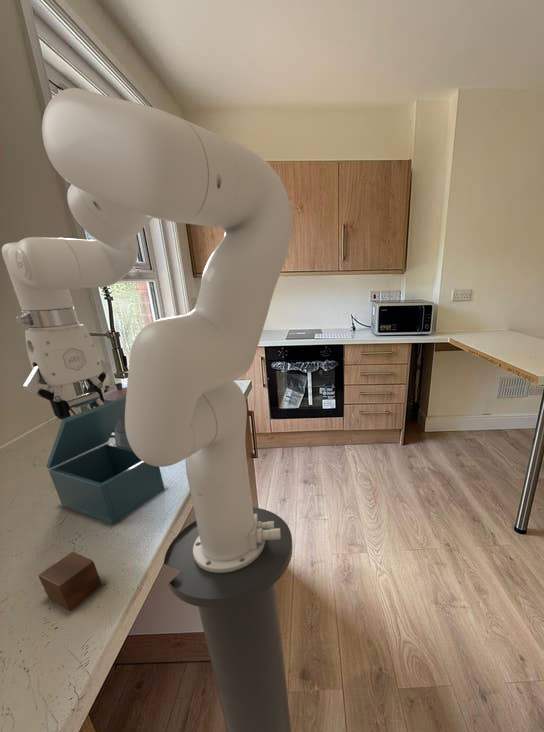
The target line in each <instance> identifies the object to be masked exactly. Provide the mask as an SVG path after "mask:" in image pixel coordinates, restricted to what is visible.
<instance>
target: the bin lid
mask: <svg viewBox="0 0 544 732" xmlns="http://www.w3.org/2000/svg"><path fill="white" fill-rule="evenodd" d="M64 400H65V401H66V403H67V406H68V409H69V411H70V412H71V413H72V414H73V415H71V416H70V417H67V418H64V419H61V422H60V426H59V427H58V431H57V433H56V436H55V440H54V443H53V446H52V449H51V451H50V453H49V456H48V460H47V463H46V465H45V467H46V468H47V469H48V470H49V469H51V468H53V467H55V466H58V465H60V464H62V463H64V462H66V461H68V460H71V459H73V458H75V457H77V456H79V455H81V454H84V453H86V452H88V451H90V450H92V449H95V448H97V447H99V446H101V445H103V444H105V443H109V441H110V438H111V436H112V434H113V433H114V431H115V430H114V428H115V426H116V424H117V422H118V420H119V418H120V416H121V414H122V412H123V410H124V408H125V405H126V397H123V398H120V399H118V400H115V401H112V402H109V403H106V404H104V403H103V402H102V400H101V399H100V395H99V393H98V392H96V391H93V392H90V393H88V392H87V393H84V394H80V395H77V396H74V397H71V398H68V399H64ZM93 402H97V403H98V404H99V406H98V407H93V408H90V409H87V410H84V411H82V412H80V411H79V410H78V408H80V407H84V406H87V405H89V404H91V403H93Z"/></svg>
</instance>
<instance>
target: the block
mask: <svg viewBox="0 0 544 732" xmlns="http://www.w3.org/2000/svg"><path fill="white" fill-rule="evenodd" d="M37 576H38V578H39V581H40V582H41V585H42V587H43V589H44V592H45V593H46V595H47V598H48V600H49V601H51V602H53V603H54V604H56V605H58V606H60V607H61V608H64V609H65V610H67V611H69V612H71V611H72V610H74V609H75V608H76V607H77V606H78V605H80V604H82V602H83V601H85V600H86V599H87V598H88V597H90V596H91V595H92V594H93V593H95V592H96V591H97V590H98V589H99V588H100V587H102V586H103V584H102V580H101V578H100V575H99V571H98V569H97V566H96V564H95V561H94V560H92V559H90V558H88V557H86V556H83V555H81V554H79V553H77V552H75V551H71V552H70V553H68V554H67V555H65V556H64V557H62V558H61V559H60V560H58V561H56V562H55V563H53V564H52V565H51V566H49V567H48V568H46V569H44V570H43V571H42V572H41V573H39V574H38V575H37Z"/></svg>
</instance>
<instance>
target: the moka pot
mask: <svg viewBox="0 0 544 732" xmlns="http://www.w3.org/2000/svg"><path fill="white" fill-rule="evenodd" d="M114 386H115V387H113V386H112V387H111V386H110V385H105V386H104V389H103V393H102V394H103V398H104V404H106V403H109V402H112V401H115V400H118V399H120V398H123V397H126V394H127V386H126V387H123V383H122V382H118V383H115V384H114ZM113 434H114V441H115V442H114V443H115V444H114V445H118V446H122V447H126V448H130V449H132V448H131V447H130V445H129V442H128V439H127V436H126V430H125V408H124V410H123V412H122V414H121V416H120V418H119V420H118V422H117V424H116V426H115V428H114V430H113Z"/></svg>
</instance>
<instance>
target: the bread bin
mask: <svg viewBox="0 0 544 732" xmlns="http://www.w3.org/2000/svg"><path fill="white" fill-rule="evenodd" d="M48 472H49V475H50V477H51V480H52V483H53V485H54V488H55V491H56V493H57V496H58V499H59V501H60V504H61V506H62V507H65V508H67V509H70V510H72V511H74V512H77V513H81V514H83V515H86V516H88V517H91V518H93V519H96V520H99V521H102V522H103V523H107V524H110V525H111V526H113V525H115V524H116V523H118V522H120V521H121V520H123V519H124V518H126V517H127V516H128V515H130V514H131V513H133V512H134V511H135V510H137V509H138V508H141V506H143V505H144V504H146V503H147V502H149V501H150V500H151V499H153V498H155V497H156V496H157V495H159V494H160V493H162V492H163V491H165V485H164V481H163V477H162V473H161V467H157V466H152V465H149V464H147V463H145V462H143V461H142V460H140V459H139V458H138V457H137V456H136V455H135V453H134V452H133V450H132V449H130V448H126V447H122V446H118V445H115V444H114V443H111V442H107V443H105V444H102V445H100V446H98V447H96V448H94V449H91V450H89V451H87V452H85V453H83V454H81V455H78V456H76V457H74V458H72V459H70V460H67V461H65V462H63V463H61V464H59V465H57V466H54V467H52V468H50V469H48Z"/></svg>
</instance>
